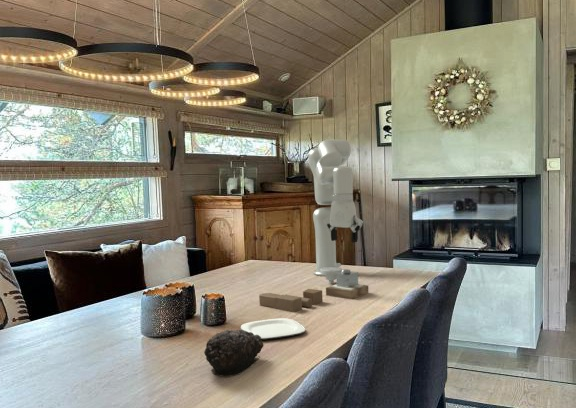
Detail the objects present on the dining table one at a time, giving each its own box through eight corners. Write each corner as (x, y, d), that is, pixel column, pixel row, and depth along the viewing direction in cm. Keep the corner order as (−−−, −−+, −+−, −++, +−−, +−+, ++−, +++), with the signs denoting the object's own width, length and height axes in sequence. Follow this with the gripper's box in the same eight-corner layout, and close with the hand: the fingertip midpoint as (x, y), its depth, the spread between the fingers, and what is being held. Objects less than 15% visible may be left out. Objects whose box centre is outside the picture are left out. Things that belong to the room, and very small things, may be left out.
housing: (346, 283, 208) (346, 267, 207) (358, 284, 204) (357, 269, 204) (336, 286, 202) (336, 270, 202) (348, 287, 199) (348, 271, 199)
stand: (343, 289, 212) (343, 281, 211) (368, 293, 204) (368, 284, 204) (326, 295, 202) (325, 286, 202) (351, 299, 195) (351, 290, 195)
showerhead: (319, 269, 219) (320, 265, 229) (320, 286, 220) (320, 281, 229) (341, 268, 218) (341, 264, 228) (342, 285, 219) (342, 280, 229)
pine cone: (269, 356, 136) (267, 319, 135) (235, 381, 120) (233, 339, 119) (234, 352, 140) (233, 315, 140) (197, 376, 124) (196, 335, 123)
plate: (236, 328, 163) (236, 323, 163) (289, 321, 169) (289, 316, 169) (253, 345, 146) (252, 339, 146) (311, 336, 152) (311, 331, 152)
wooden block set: (295, 297, 178) (257, 291, 190) (296, 313, 178) (258, 306, 190) (324, 288, 191) (287, 282, 203) (325, 303, 191) (288, 297, 203)
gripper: (319, 198, 205) (321, 240, 207) (356, 199, 194) (357, 244, 196) (330, 197, 211) (331, 238, 212) (367, 198, 200) (368, 241, 201)
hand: (344, 241), depth 204 cm, fingers open, 9 cm apart
